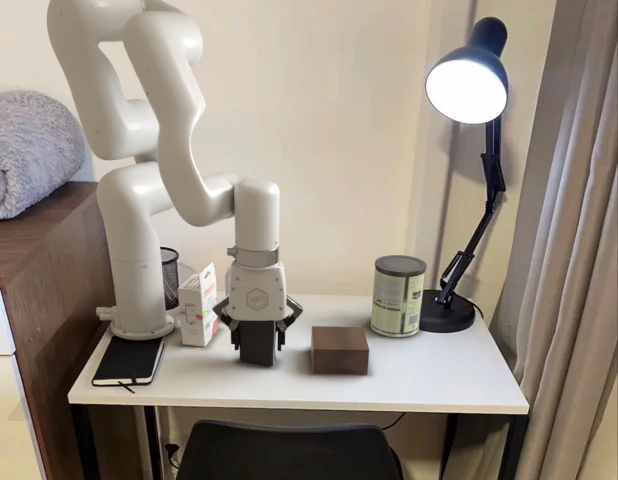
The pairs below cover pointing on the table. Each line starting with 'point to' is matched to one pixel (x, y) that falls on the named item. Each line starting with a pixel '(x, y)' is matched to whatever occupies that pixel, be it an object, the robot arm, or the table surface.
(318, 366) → the block
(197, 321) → the ink cartridge box
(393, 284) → the coffee can
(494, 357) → the table surface
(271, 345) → the black rounded block
